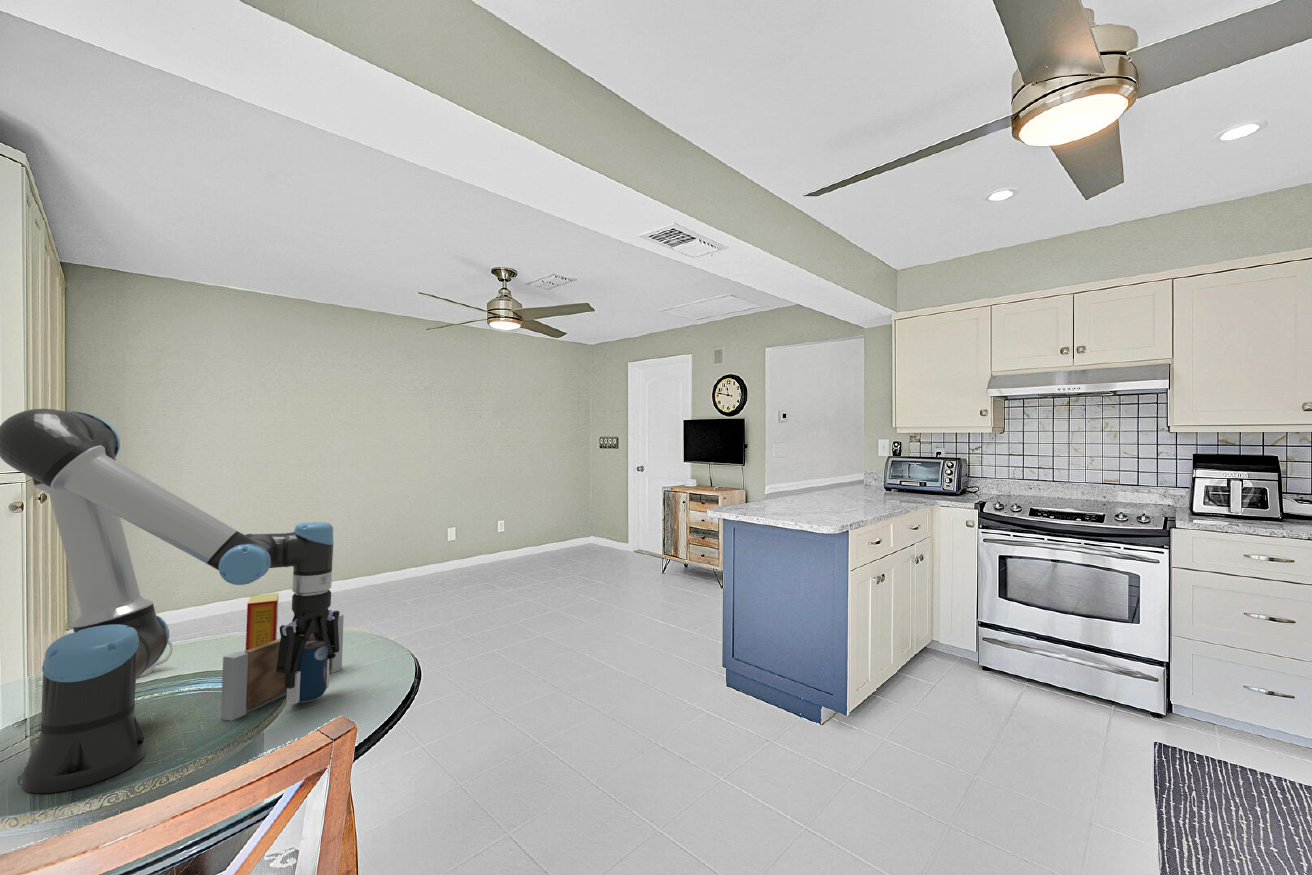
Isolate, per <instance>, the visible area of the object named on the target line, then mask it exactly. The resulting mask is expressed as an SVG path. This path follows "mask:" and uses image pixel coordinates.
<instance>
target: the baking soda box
mask: <svg viewBox="0 0 1312 875" xmlns="http://www.w3.org/2000/svg"><path fill="white" fill-rule="evenodd" d="M246 606H247V608H246V631H245V632H246V634H245V651H247V650H249V649H252V648H255V647H258V646H261V645H264V644H266V643H269V642H272V641H275V640H278V637H277V636H278V619H279V615H278V614H279V593H278V592H277V593H268V594H267V593H266V594H257V595H250V596H249V599H248V602H247V605H246Z"/></svg>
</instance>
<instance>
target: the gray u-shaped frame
mask: <svg viewBox="0 0 1312 875" xmlns="http://www.w3.org/2000/svg"><path fill="white" fill-rule="evenodd" d="M344 617H345V616H344V614H340V613H339V618H338V632H339V652H337V653H334V654H336V656H335V658H331V670H330V671H329V674H334V673H336V672H338V671H341V670H342V669H343V643H344ZM325 623H326V622H325ZM247 671H248V653H244V651H243V652H242V651H235V652H232V653H230V654H227V655H224V656H222V679H221V680H222V682H221V705H220V706H221V707H220V720H223V721H231V722H233V721H235V720H237V719H240V718H241V717H244V716H245V715H246V714H248V713H250V712H253V711H254V710H257V709H259V708H262V707H264V706H265V705H268V704H269V703H271V701H272V702H273V701H276V700H278V699H280V698H282V697H284V696H287V690H286V691H284V692H282V693H279V694H277V695H275V696H273V697H271V698H269V699H266V700H264V701H262V702H260V703H258V704H256V705H253V706H251V707H249V708H246V696H247Z"/></svg>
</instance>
